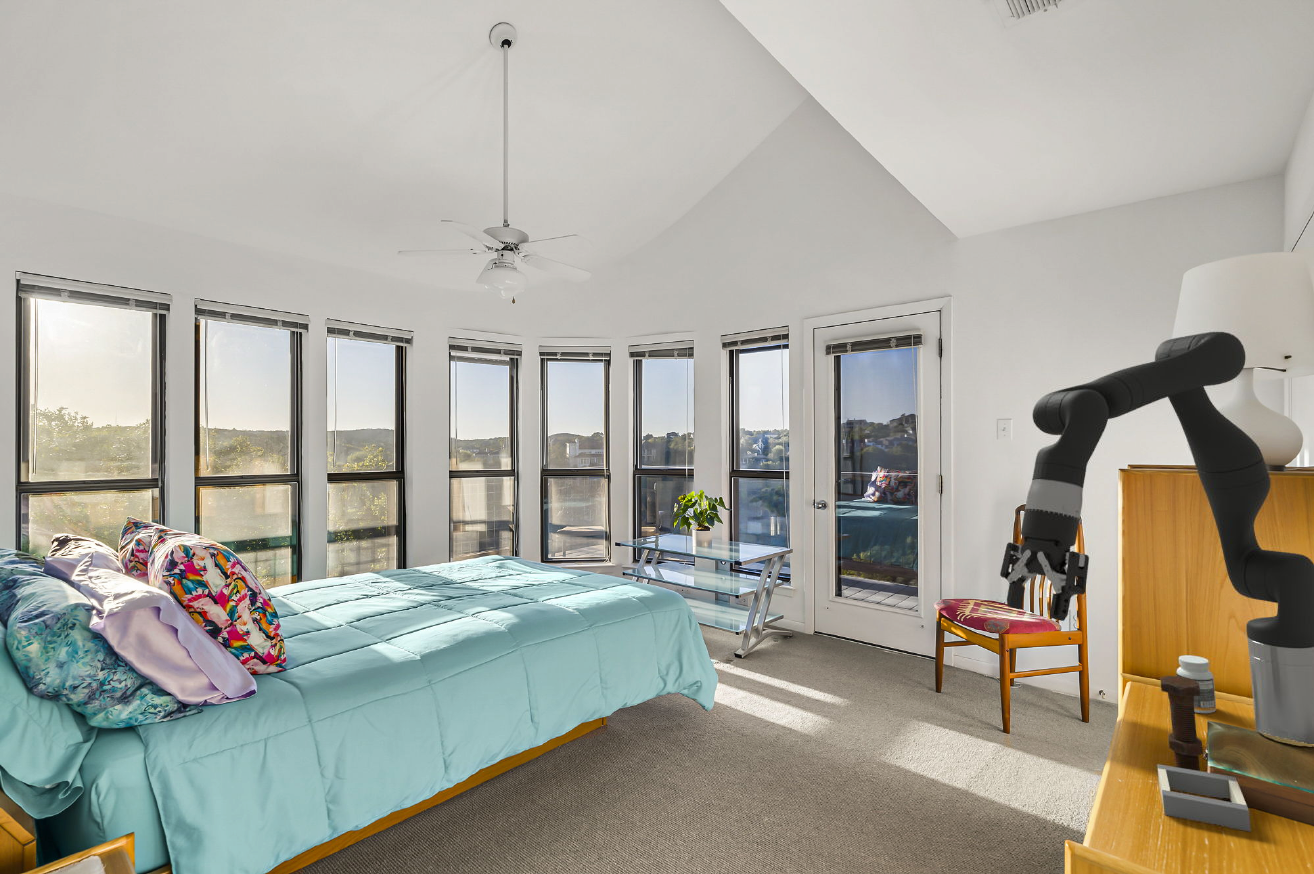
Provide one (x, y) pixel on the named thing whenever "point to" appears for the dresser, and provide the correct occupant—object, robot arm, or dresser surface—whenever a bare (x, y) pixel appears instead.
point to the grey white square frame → (1201, 807)
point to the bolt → (1183, 721)
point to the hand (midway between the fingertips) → (1034, 613)
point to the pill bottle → (1199, 681)
